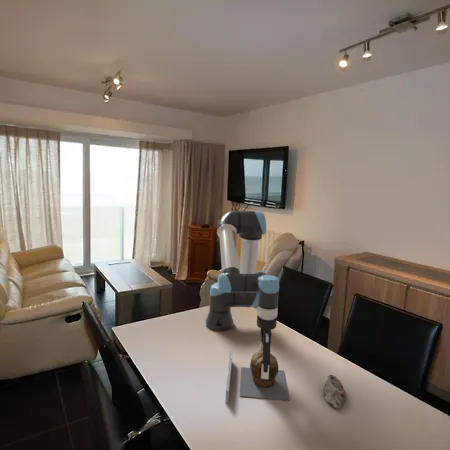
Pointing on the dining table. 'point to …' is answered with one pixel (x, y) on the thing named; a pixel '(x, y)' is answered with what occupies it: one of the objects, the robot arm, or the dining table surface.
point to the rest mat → (255, 391)
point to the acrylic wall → (228, 378)
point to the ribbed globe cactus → (257, 367)
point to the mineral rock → (334, 391)
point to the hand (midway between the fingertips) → (263, 367)
